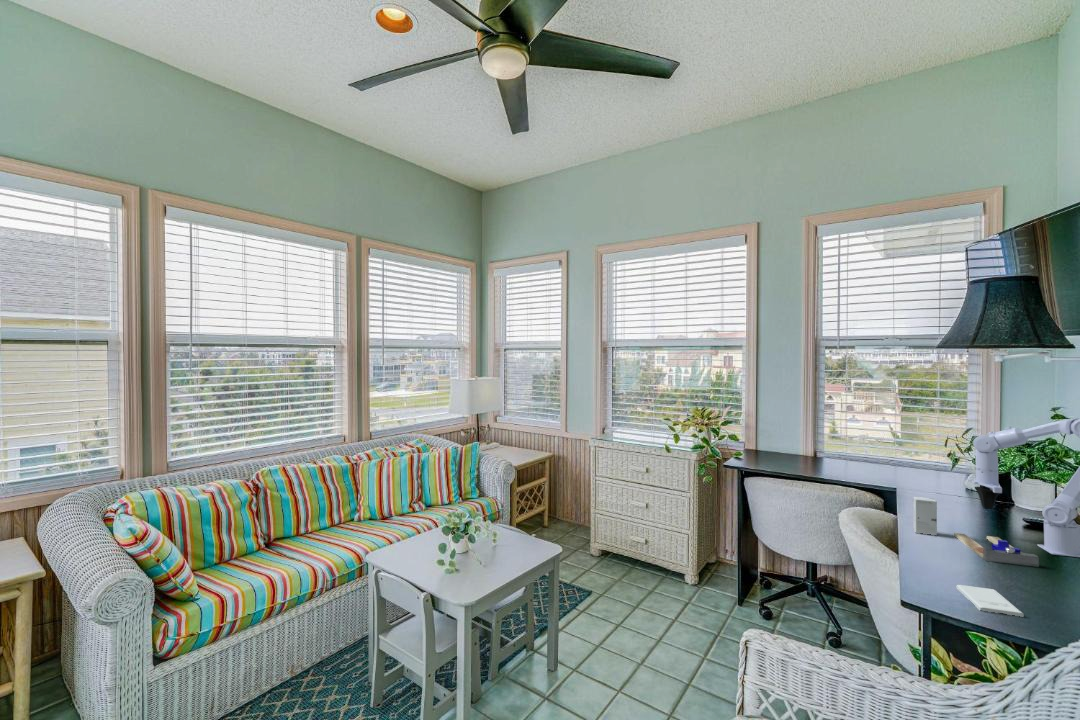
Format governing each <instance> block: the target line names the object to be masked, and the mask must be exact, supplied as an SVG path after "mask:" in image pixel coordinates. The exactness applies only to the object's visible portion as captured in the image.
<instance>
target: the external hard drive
mask: <svg viewBox="0 0 1080 720" xmlns="http://www.w3.org/2000/svg"><path fill="white" fill-rule="evenodd" d="M956 589H957V591H959V593H961V595H963V596H964V598H966V600H968V601H969V600H970V601H971V602H972V603H973V604H974V605H975V606H974V605H973V604H972V603H971V602H970V601H969V602H970V603H971V604H972V605H973V606H974V607H975V608H977V610H979V611H980V610H983V611H982V612H984V611H988V612H987V613H991V612H995V613H994V614H1000V613H1003V614H1002V615H1005V614H1007V616H1012V615H1015V616H1014V617H1019V616H1020V618H1024V615H1025V614H1024V613H1023V612H1022V611H1021V610H1020V609H1018V608H1017V607H1016V606H1015V605H1014V604H1012V603H1011V602H1010V601H1009V600H1008V599H1007V598H1006V597H1004V596H1003V595H1002V594H1000V593H999V592H998V591H997V590H996V589H993V588H986V587H980V586H978V587H977V586H971V585H964V584H957V585H956Z"/></svg>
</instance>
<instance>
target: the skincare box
mask: <svg viewBox="0 0 1080 720" xmlns="http://www.w3.org/2000/svg"><path fill="white" fill-rule="evenodd" d="M937 509H938V502H937V500H936V499H935V498H930V497H921V496H913V531H914V533H915V532H916V533H915V534H920V533H923V534H922V535H927V534H931V535H930V536H934V535H936V536H938V535H937V532H938V530H937V529H938V527H937V526H938V523H937V521H938V519H937V517H938V514H937V512H938V511H937Z"/></svg>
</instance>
